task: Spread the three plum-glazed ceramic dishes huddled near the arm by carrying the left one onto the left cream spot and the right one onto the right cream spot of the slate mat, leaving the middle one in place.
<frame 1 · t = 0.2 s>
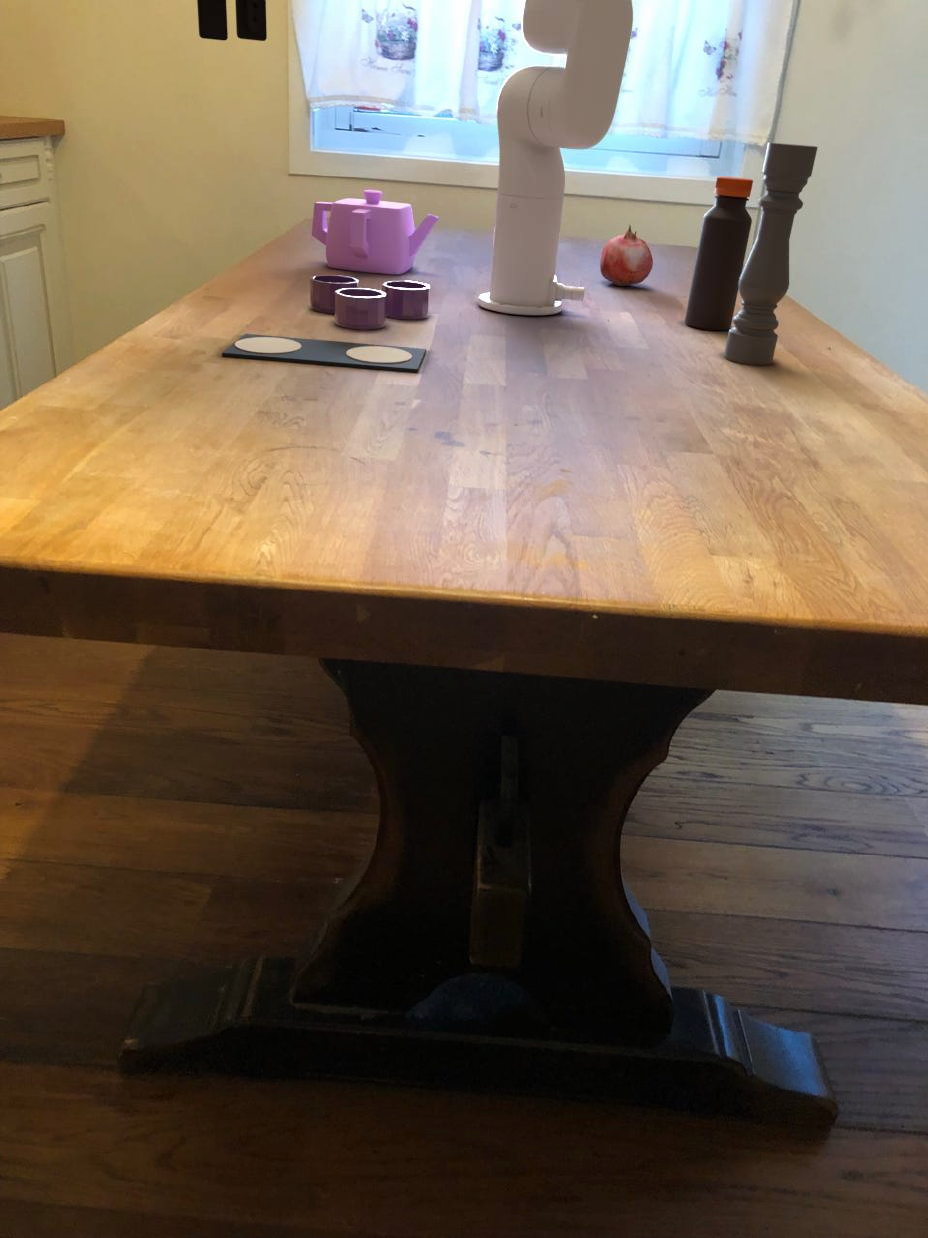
hand: (232, 39, 104), 31 cm above the table, tool pointing down, fingers open, 9 cm apart
mat: (327, 353, 110), on the table
bottle: (707, 327, 141), on the table
candle holder: (747, 360, 123), on the table
teakettle: (374, 267, 168), on the table
dish b: (334, 308, 133), on the table
dish c: (360, 324, 126), on the table
dish a: (405, 314, 133), on the table
fruit: (621, 285, 169), on the table
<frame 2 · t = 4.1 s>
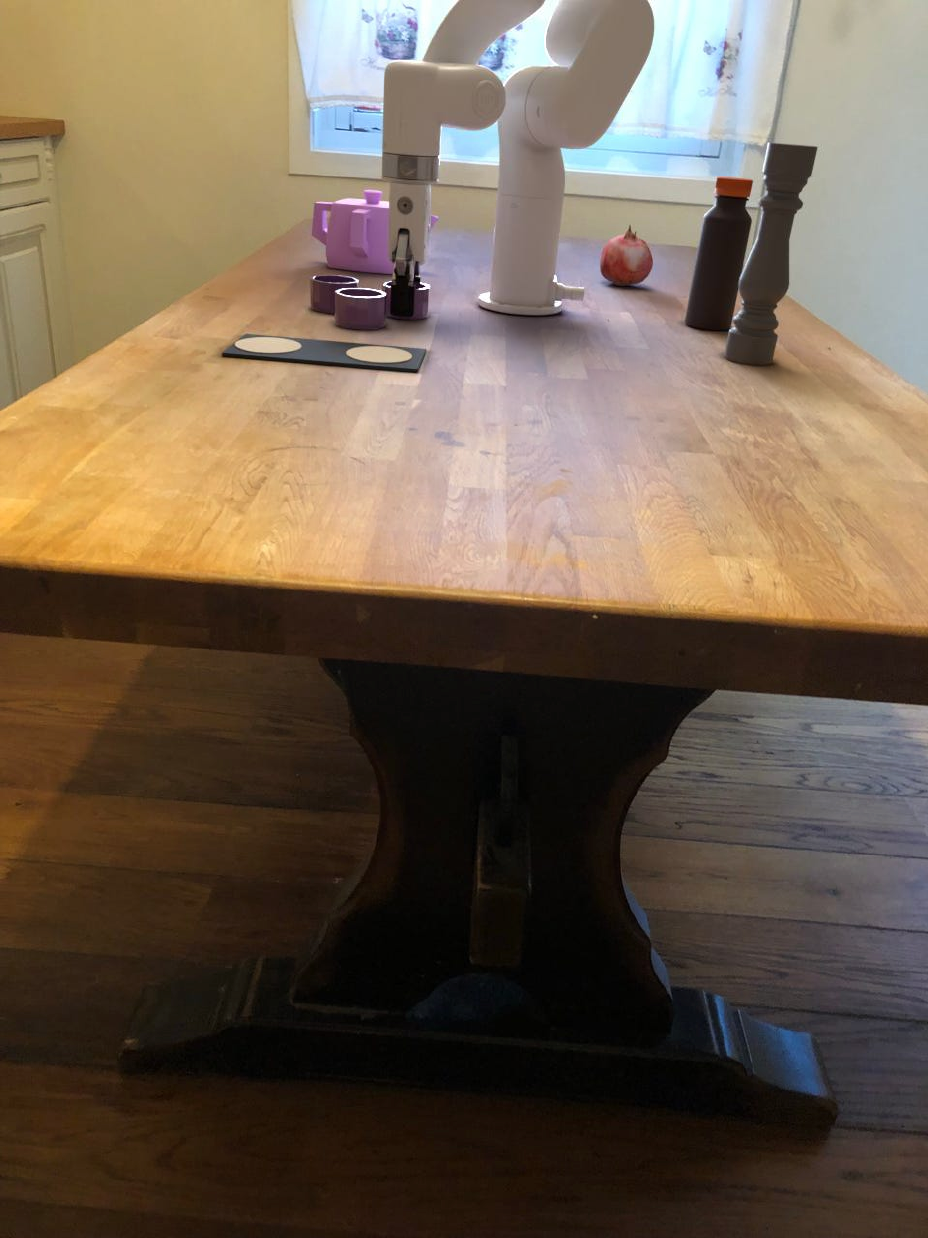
hand: (405, 309, 133), 1 cm above the table, tool pointing down, fingers closed on dish a, 6 cm apart
dish a: (405, 314, 133), on the table, touching gripper
everything else where it was.
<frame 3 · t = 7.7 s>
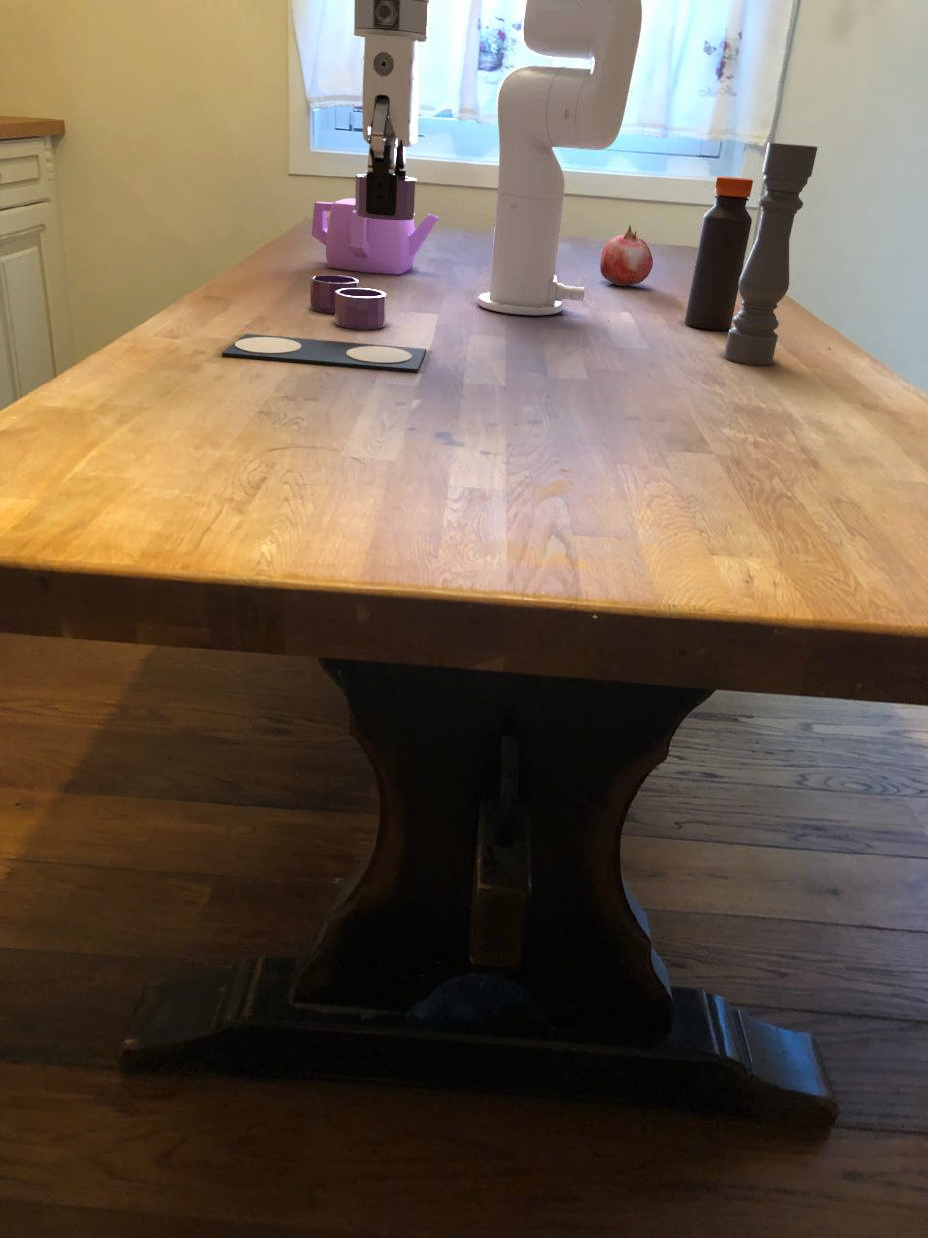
hand: (385, 209, 105), 16 cm above the table, tool pointing down, fingers closed on dish a, 6 cm apart
dish a: (385, 216, 106), point 15 cm above the table, touching gripper
everything else where it was.
when the fingers open (1 cm above the table, at t = 11.6 s): dish a stays where it is, resting on mat.
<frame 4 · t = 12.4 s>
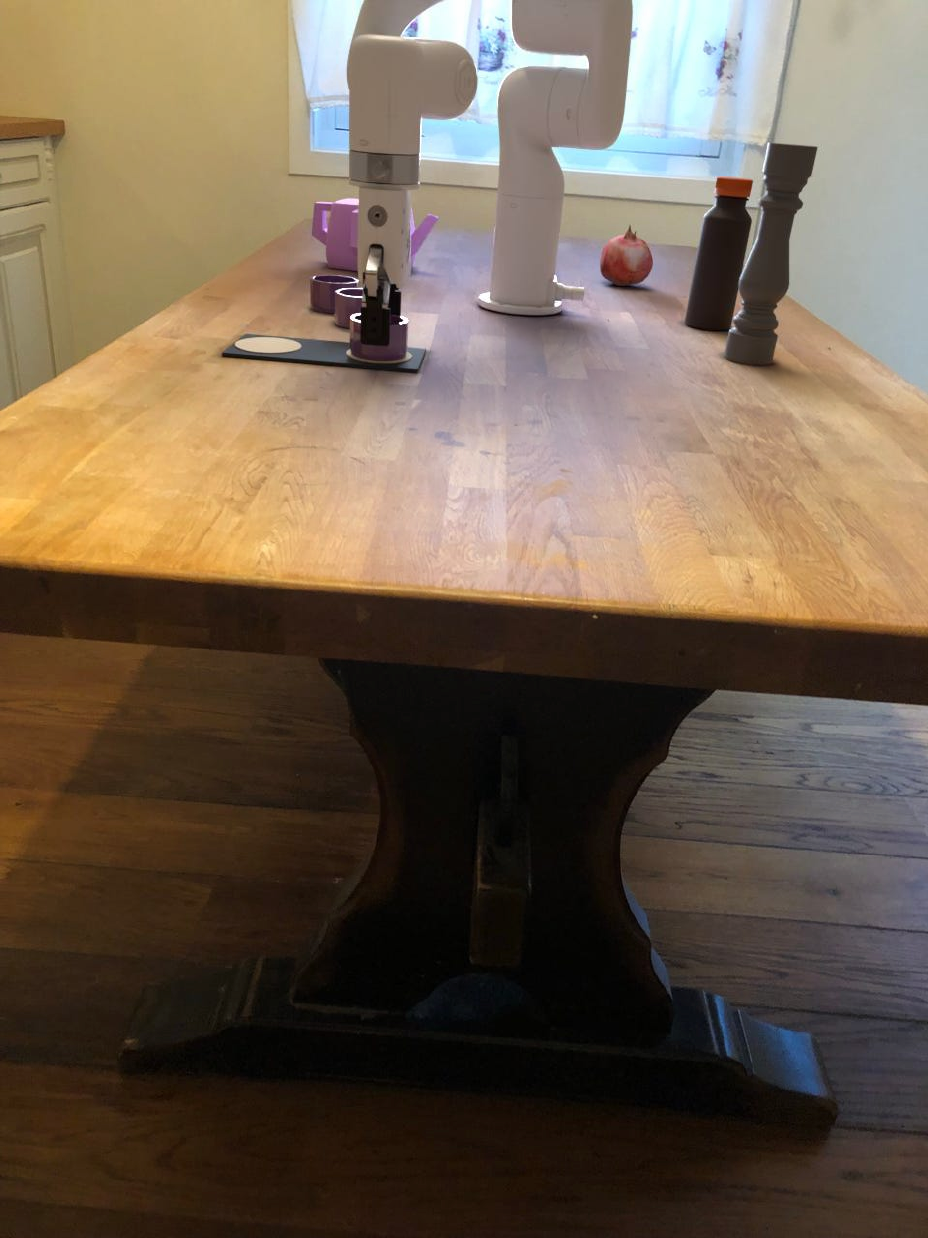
hand: (381, 334, 109), 3 cm above the table, tool pointing down, fingers open, 9 cm apart
dish a: (378, 354, 110), resting on mat
everything else where it was.
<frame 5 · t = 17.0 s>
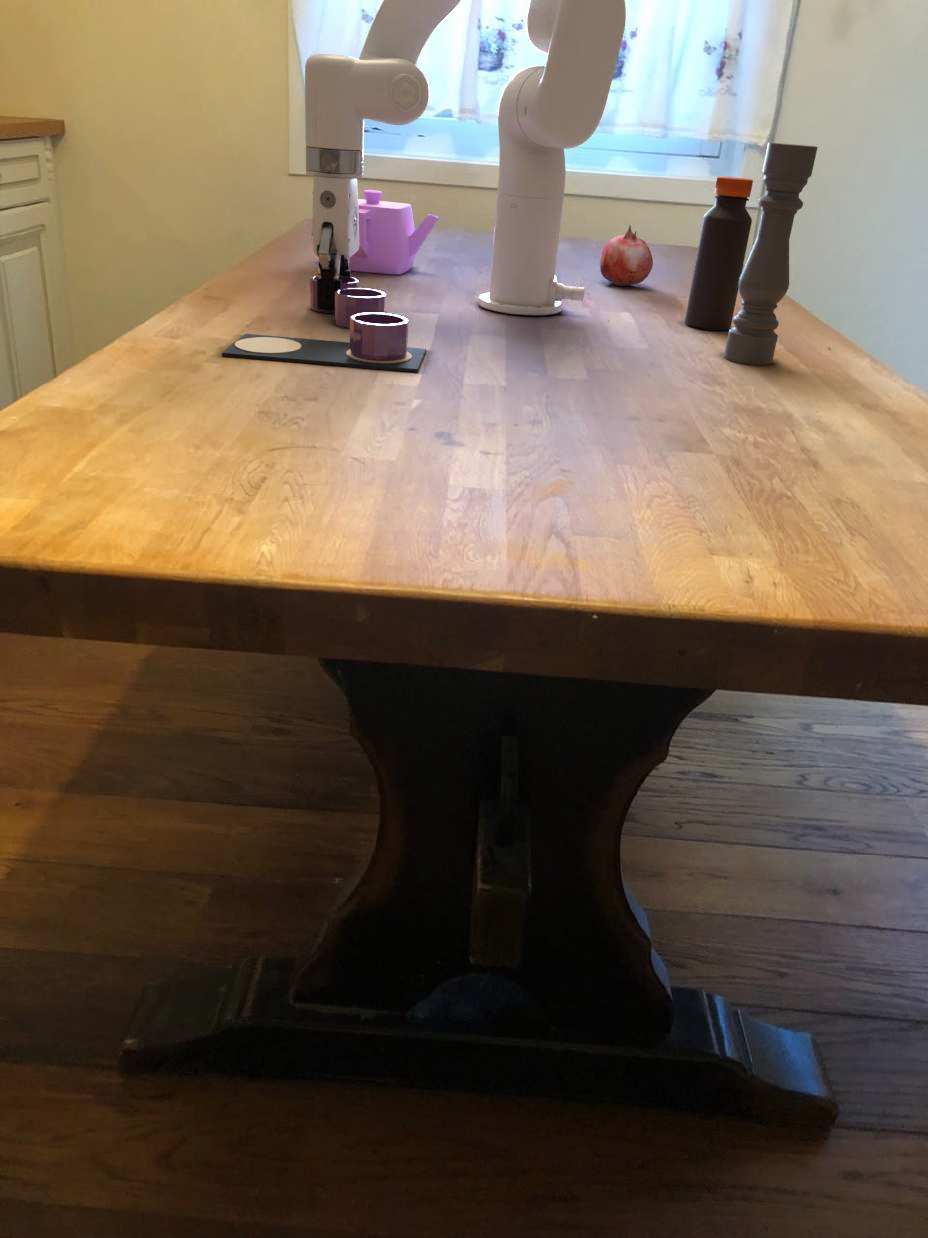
hand: (334, 303, 133), 1 cm above the table, tool pointing down, fingers closed on dish b, 6 cm apart
dish b: (334, 308, 133), on the table, touching gripper
everything else where it was.
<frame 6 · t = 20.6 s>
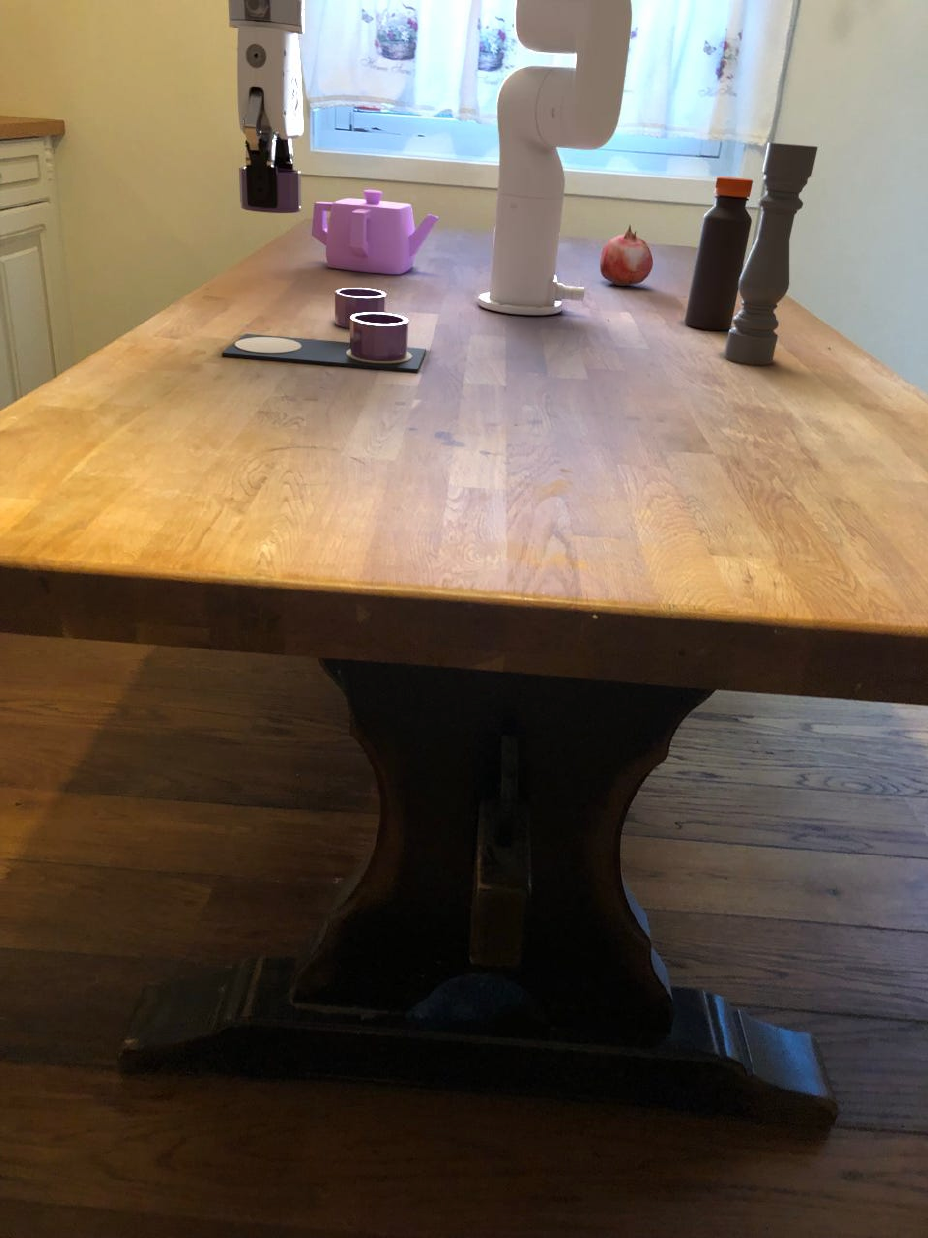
hand: (271, 202, 105), 16 cm above the table, tool pointing down, fingers closed on dish b, 6 cm apart
dish b: (271, 209, 106), point 15 cm above the table, touching gripper
everything else where it was.
when the fingers open (1 cm above the table, at t = 24.4 s): dish b stays where it is, resting on mat.
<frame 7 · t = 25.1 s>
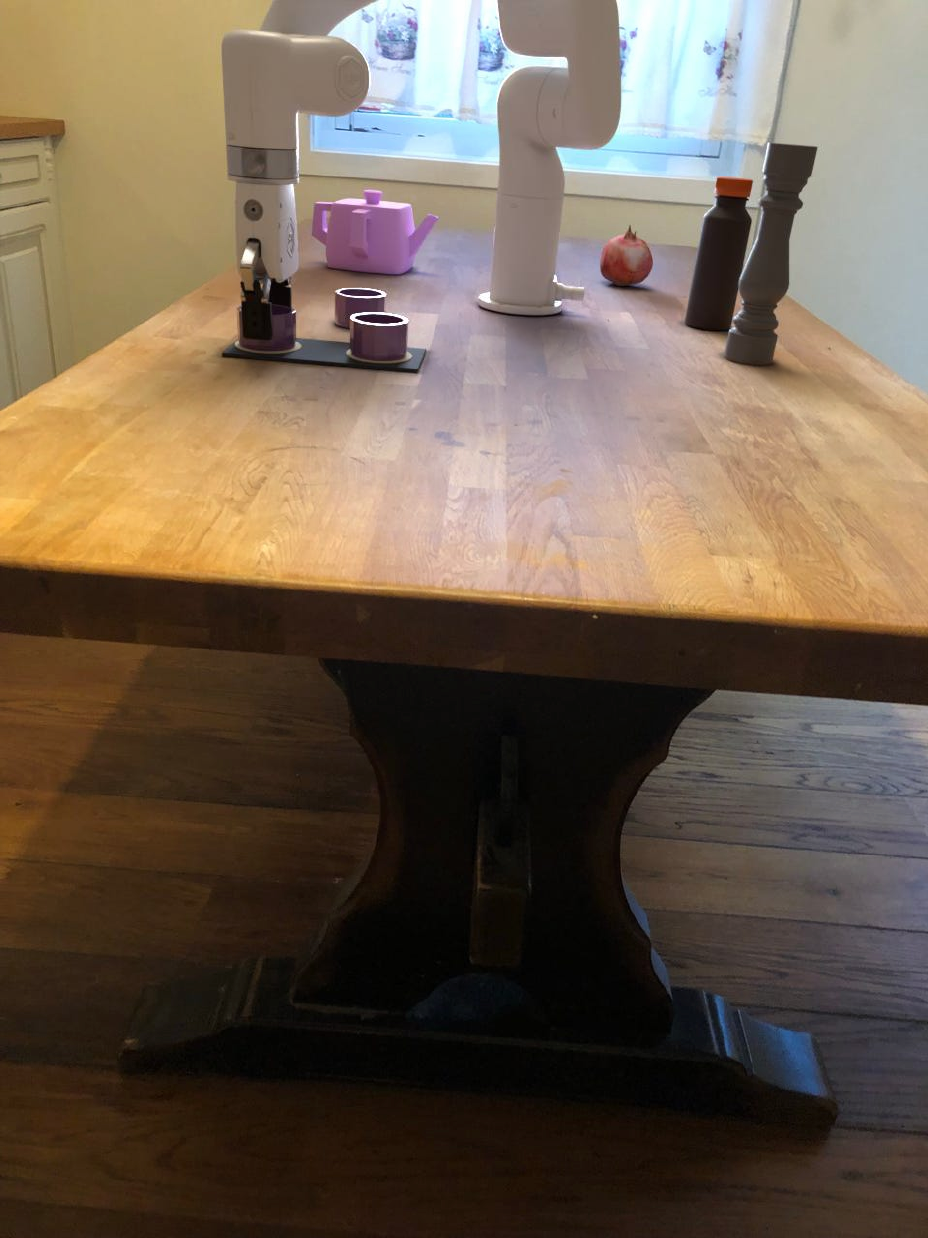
hand: (268, 329, 110), 2 cm above the table, tool pointing down, fingers open, 9 cm apart
dish b: (267, 344, 110), resting on mat
everything else where it was.
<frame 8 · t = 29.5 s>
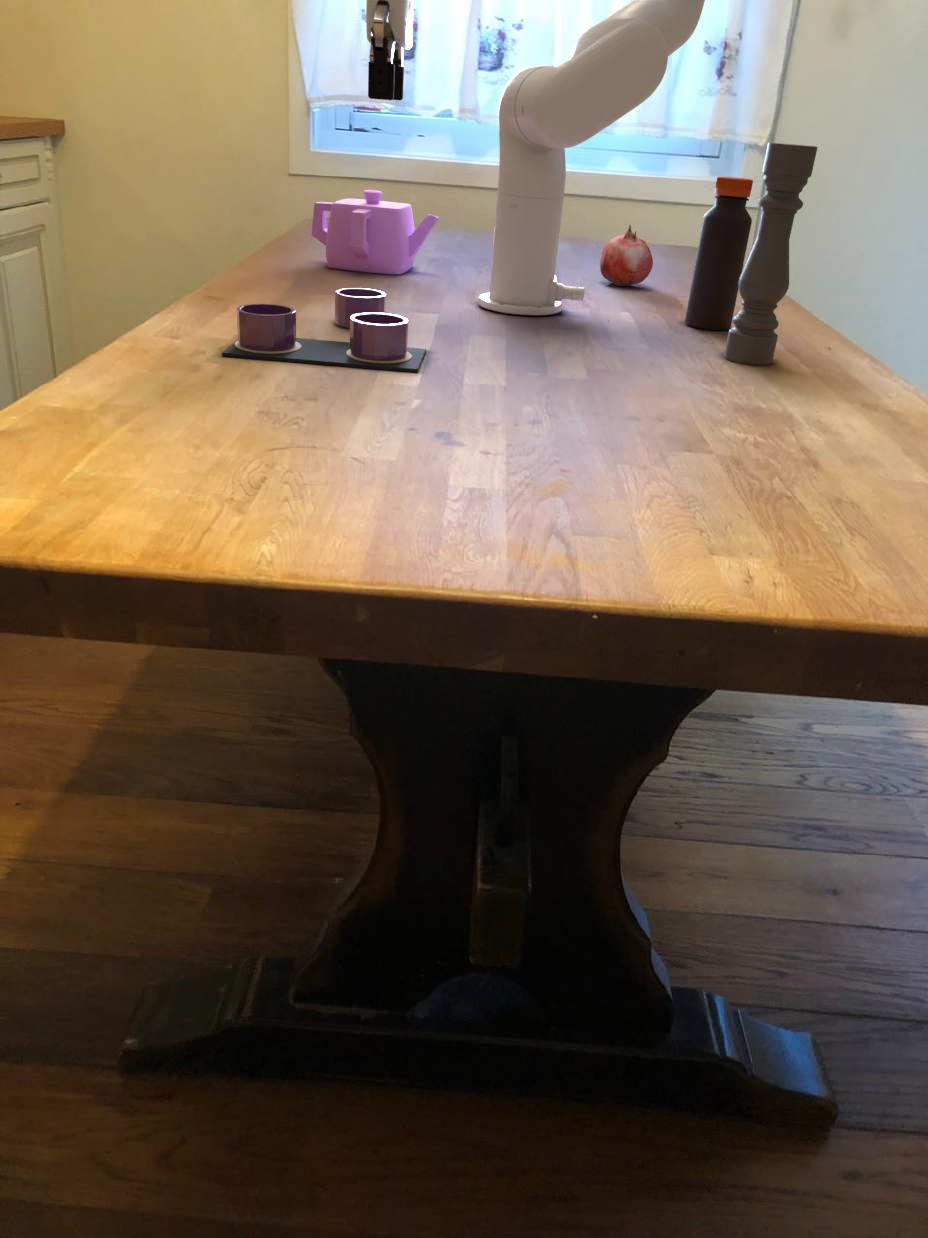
hand: (386, 99, 124), 26 cm above the table, tool pointing down, fingers open, 9 cm apart
nothing on the table moved.
at the end: dish a 0.1 cm from the target spot on the mat, point 0.5 cm above the mat's base; dish b 0.1 cm from the target spot on the mat, point 0.5 cm above the mat's base; dish b tilted 0° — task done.
